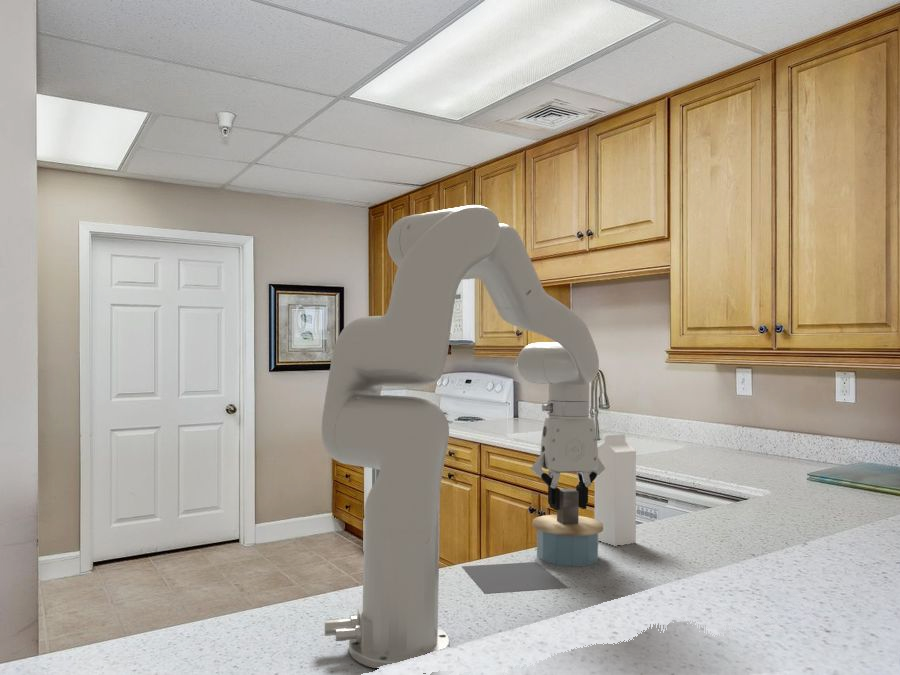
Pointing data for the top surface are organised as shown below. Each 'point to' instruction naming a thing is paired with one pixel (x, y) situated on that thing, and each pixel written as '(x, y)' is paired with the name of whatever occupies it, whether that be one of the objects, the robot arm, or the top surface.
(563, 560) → the bowl
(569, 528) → the lid
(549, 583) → the mat
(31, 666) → the top surface
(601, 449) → the milk
